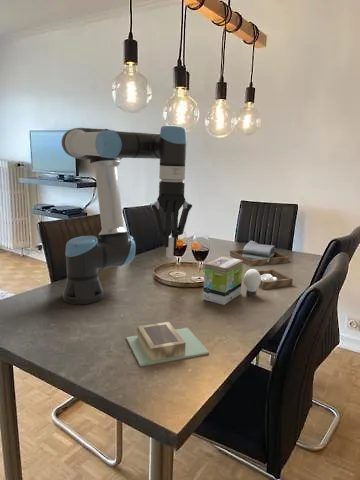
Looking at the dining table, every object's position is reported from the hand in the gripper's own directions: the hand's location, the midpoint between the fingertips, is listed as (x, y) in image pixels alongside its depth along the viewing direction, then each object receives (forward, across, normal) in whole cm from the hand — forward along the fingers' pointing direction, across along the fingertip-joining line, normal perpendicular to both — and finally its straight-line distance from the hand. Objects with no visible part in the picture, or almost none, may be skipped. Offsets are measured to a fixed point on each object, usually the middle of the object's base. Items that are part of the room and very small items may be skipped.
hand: (169, 257), depth 116 cm
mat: (+23, -4, -12) cm, 27 cm away
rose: (+24, +55, +28) cm, 66 cm away
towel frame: (+25, +73, +64) cm, 100 cm away
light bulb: (+24, +41, +17) cm, 51 cm away
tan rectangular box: (+21, -1, -12) cm, 24 cm away
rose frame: (+24, +57, +30) cm, 68 cm away
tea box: (+24, +29, +19) cm, 42 cm away
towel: (+24, +73, +64) cm, 100 cm away
